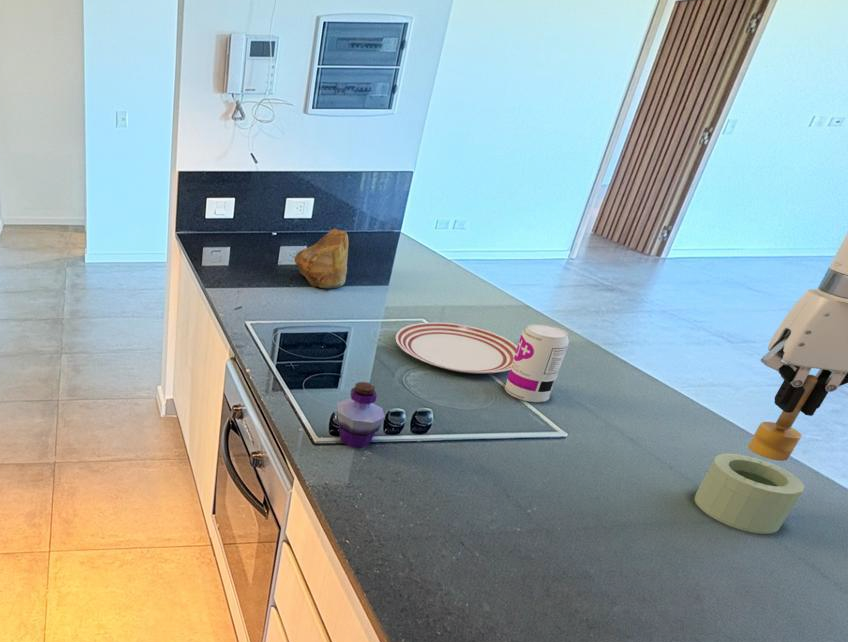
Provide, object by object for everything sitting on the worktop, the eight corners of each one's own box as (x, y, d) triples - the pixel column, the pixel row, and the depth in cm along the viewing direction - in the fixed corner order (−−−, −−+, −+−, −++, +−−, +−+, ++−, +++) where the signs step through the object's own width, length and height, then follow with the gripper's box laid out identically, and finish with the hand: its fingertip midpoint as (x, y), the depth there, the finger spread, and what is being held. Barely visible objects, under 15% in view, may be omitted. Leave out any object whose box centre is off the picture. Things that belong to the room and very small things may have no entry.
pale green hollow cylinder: (757, 501, 99) (780, 460, 96) (793, 542, 91) (820, 499, 87) (682, 488, 102) (702, 448, 99) (710, 527, 94) (733, 484, 90)
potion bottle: (383, 438, 115) (396, 382, 110) (371, 460, 109) (384, 402, 104) (338, 424, 120) (348, 370, 114) (323, 445, 113) (333, 388, 108)
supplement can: (510, 402, 128) (531, 336, 121) (498, 384, 135) (518, 321, 128) (553, 407, 126) (578, 340, 119) (540, 388, 133) (562, 324, 126)
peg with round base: (777, 447, 93) (822, 370, 87) (794, 463, 89) (842, 384, 83) (741, 441, 94) (783, 365, 88) (757, 457, 90) (801, 379, 84)
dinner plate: (489, 395, 130) (493, 381, 129) (371, 352, 149) (374, 340, 148) (539, 359, 146) (543, 347, 144) (427, 325, 165) (430, 313, 163)
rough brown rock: (299, 268, 211) (301, 225, 205) (350, 270, 205) (353, 226, 198) (286, 291, 193) (287, 245, 186) (342, 294, 186) (345, 246, 179)
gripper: (920, 286, 81) (845, 406, 89) (770, 272, 85) (713, 388, 94) (967, 305, 74) (882, 433, 83) (803, 289, 79) (738, 412, 87)
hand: (792, 408), depth 88 cm, fingers closed on peg with round base, 1 cm apart
